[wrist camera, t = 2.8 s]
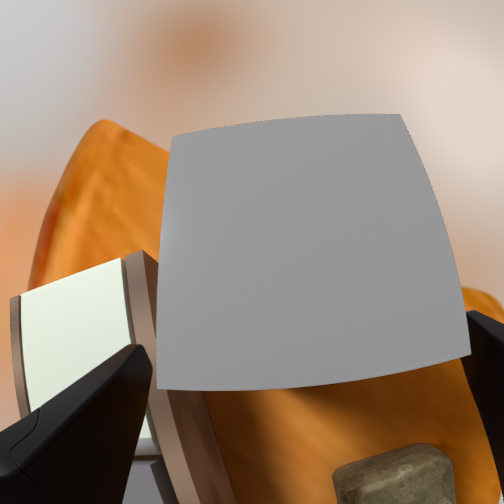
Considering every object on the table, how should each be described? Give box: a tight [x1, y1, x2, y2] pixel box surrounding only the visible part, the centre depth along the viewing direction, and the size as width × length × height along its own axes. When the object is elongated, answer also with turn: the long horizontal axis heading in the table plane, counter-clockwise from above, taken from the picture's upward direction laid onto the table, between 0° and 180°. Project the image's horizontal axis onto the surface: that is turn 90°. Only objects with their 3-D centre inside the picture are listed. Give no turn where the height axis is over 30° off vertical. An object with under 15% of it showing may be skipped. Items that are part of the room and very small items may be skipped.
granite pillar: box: [156, 114, 471, 391], centre depth 10 cm, size 5×5×13 cm
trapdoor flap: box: [21, 258, 179, 504], centre depth 13 cm, size 14×8×4 cm, turn 15°
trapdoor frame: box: [10, 250, 237, 504], centre depth 13 cm, size 15×11×5 cm
